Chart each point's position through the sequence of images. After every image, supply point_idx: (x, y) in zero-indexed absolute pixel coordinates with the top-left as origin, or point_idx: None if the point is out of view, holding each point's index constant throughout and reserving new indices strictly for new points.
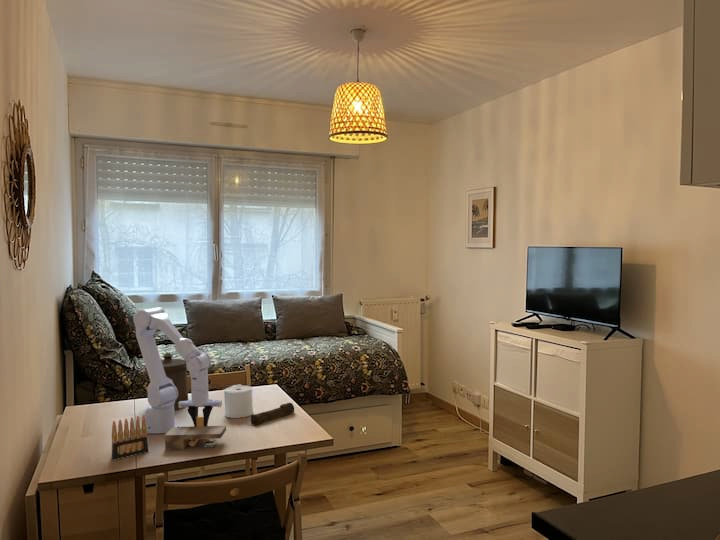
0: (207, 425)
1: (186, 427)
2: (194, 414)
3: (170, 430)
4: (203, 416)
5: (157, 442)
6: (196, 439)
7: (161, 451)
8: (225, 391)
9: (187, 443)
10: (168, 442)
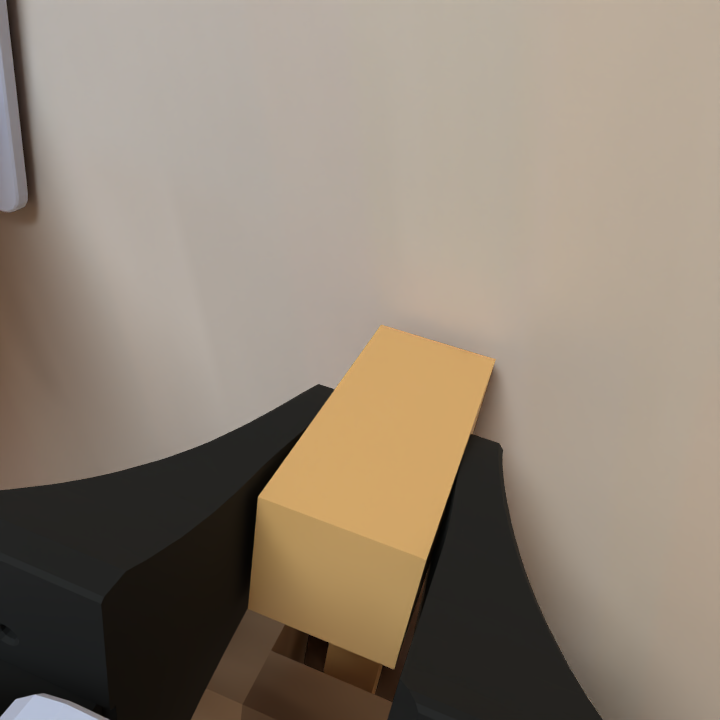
0: (502, 451)
1: (199, 708)
2: (189, 709)
3: None
4: (385, 627)
5: (9, 437)
6: (378, 672)
7: None
8: None
9: (300, 652)
10: None
